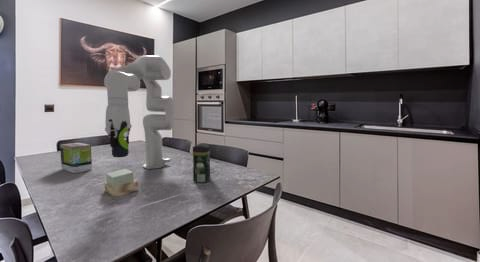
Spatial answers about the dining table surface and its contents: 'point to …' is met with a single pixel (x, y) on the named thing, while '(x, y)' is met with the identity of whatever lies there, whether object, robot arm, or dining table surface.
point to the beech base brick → (121, 188)
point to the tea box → (76, 157)
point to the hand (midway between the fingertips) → (120, 145)
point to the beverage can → (121, 141)
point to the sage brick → (119, 177)
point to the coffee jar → (201, 163)
